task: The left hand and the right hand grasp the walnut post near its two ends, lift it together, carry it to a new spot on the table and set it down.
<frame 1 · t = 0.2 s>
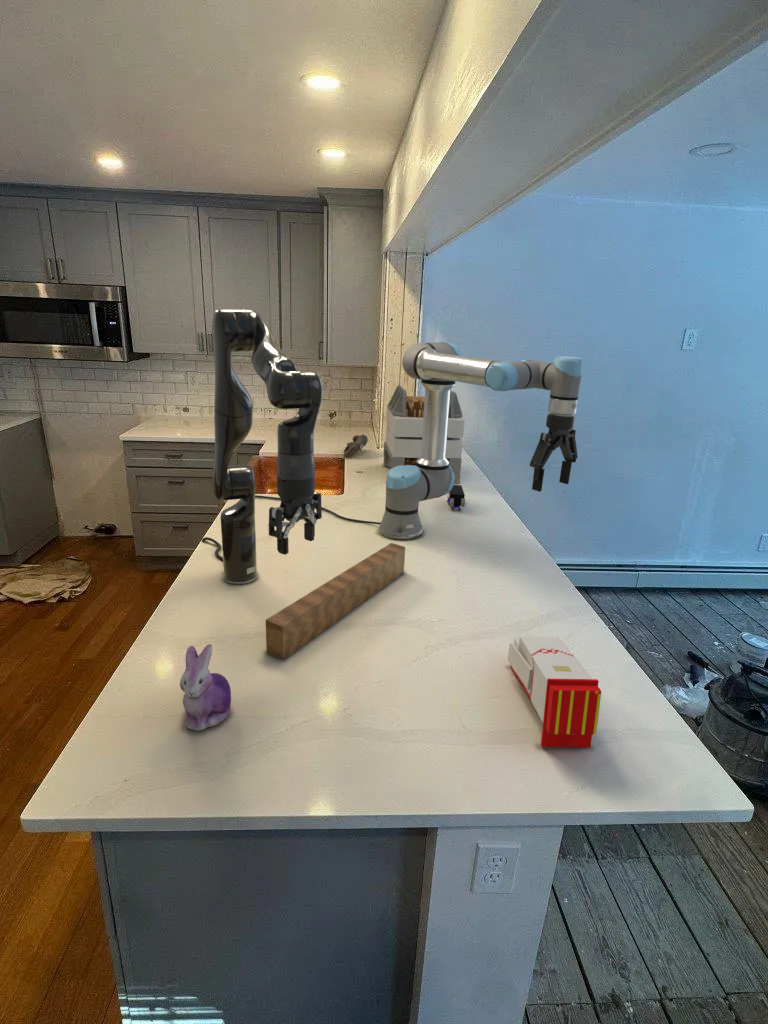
left hand: (296, 546, 119), 27 cm above the counter, tool pointing down, fingers open, 8 cm apart
right hand: (550, 486, 166), 28 cm above the counter, tool pointing down, fingers open, 13 cm apart
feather: (278, 516, 211), on the counter
toy: (543, 700, 117), on the counter
figurine character: (454, 506, 230), on the counter
fossil: (355, 454, 305), on the counter
figurine: (208, 716, 108), on the counter
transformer: (419, 473, 275), on the counter
post: (344, 606, 150), on the counter
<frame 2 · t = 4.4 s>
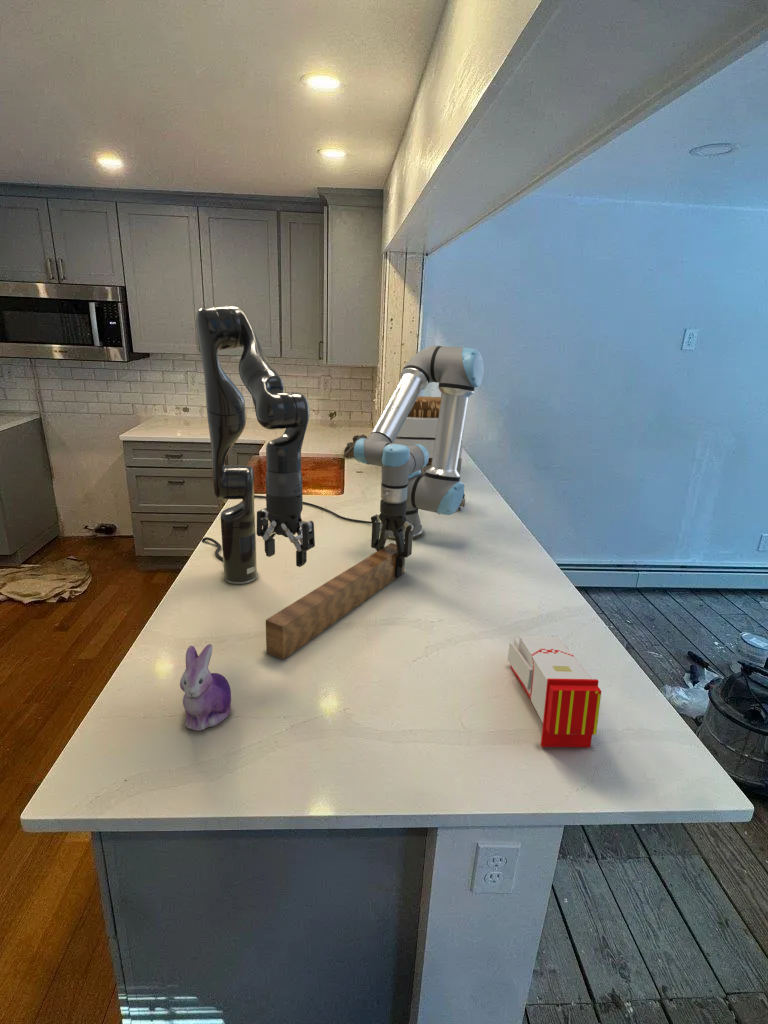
left hand: (285, 560, 124), 22 cm above the counter, tool pointing down, fingers open, 8 cm apart
right hand: (389, 573, 169), 1 cm above the counter, tool pointing down, fingers closed on post, 5 cm apart
post: (344, 606, 150), on the counter, touching right hand
everything else where it was.
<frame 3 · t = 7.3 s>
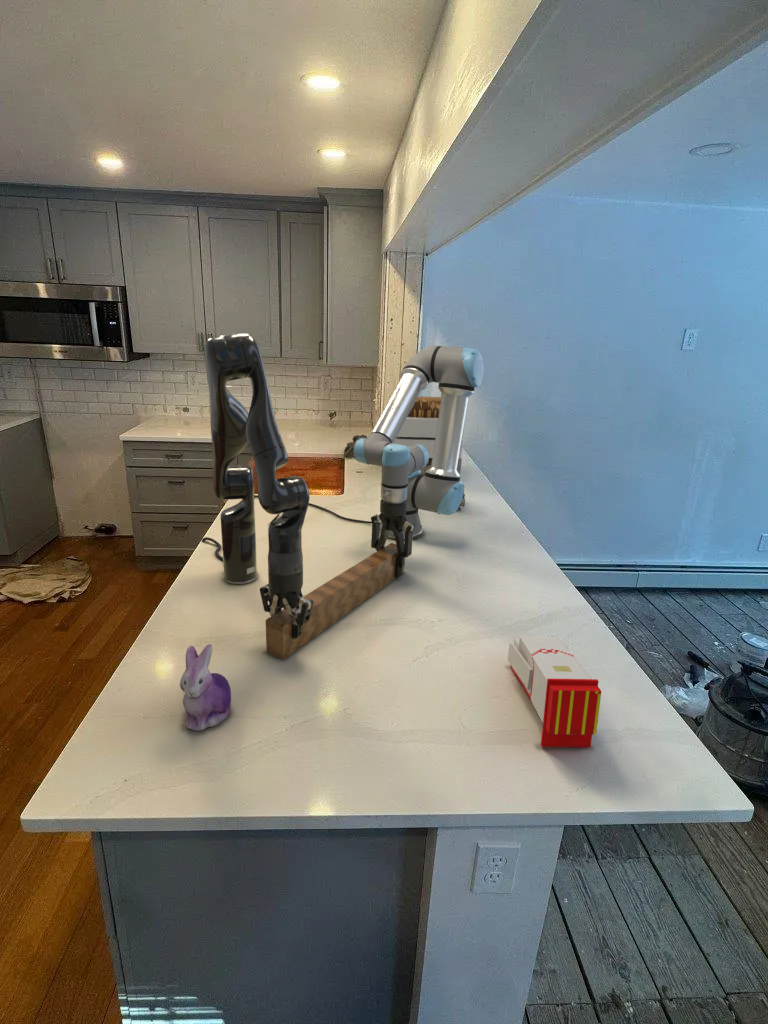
left hand: (286, 633, 130), 4 cm above the counter, tool pointing down, fingers closed on post, 5 cm apart
right hand: (389, 573, 169), 1 cm above the counter, tool pointing down, fingers closed on post, 5 cm apart
post: (344, 606, 150), on the counter, touching right hand, left hand
everything else where it was.
when the right hand's fingers open (2 cm above the counter, at t = 11.5 s): post drops 1 cm, on the counter.
when the left hand's fingers open (5 cm above the counter, at t = 11.7 s): post stays where it is, on the counter.
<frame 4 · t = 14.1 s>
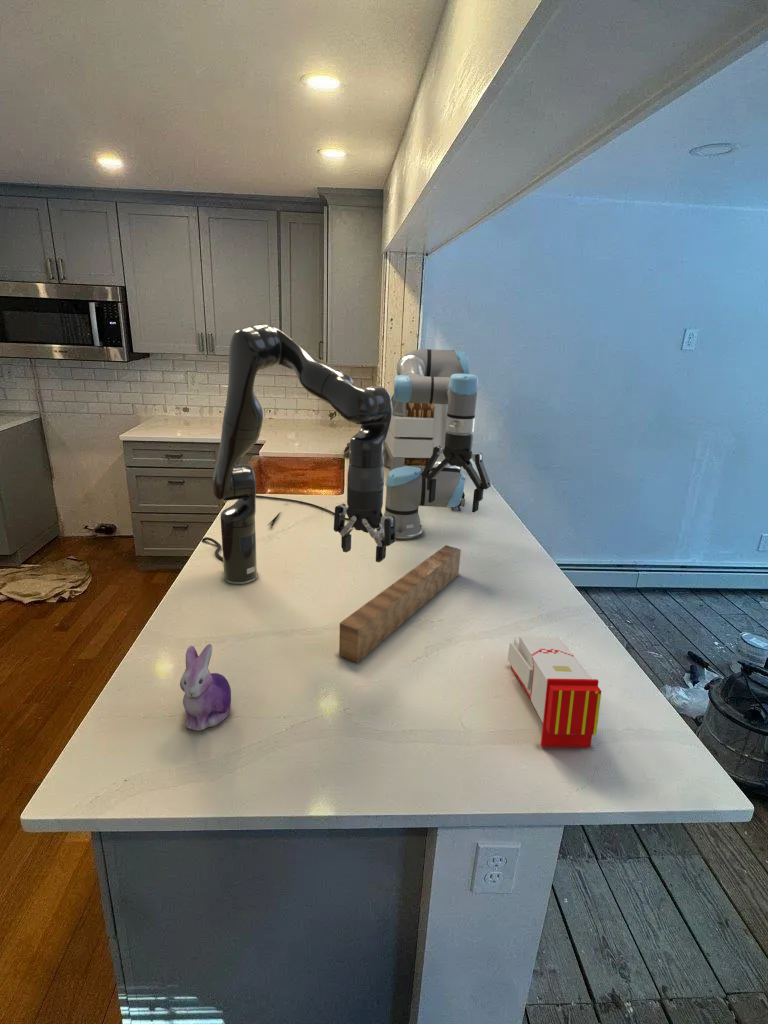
left hand: (363, 556, 123), 24 cm above the counter, tool pointing down, fingers open, 8 cm apart
right hand: (452, 506, 161), 22 cm above the counter, tool pointing down, fingers open, 13 cm apart
post: (407, 609, 150), on the counter
everything else where it was.
at the end: post inside the target area (0.5 cm from its centre), on the counter; post tilted 0°; post never tilted more than 2° during the clip; both hands held the post at the same time; the left hand is holding nothing; the right hand is holding nothing; post at rest at the end (0.0 cm/s) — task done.
